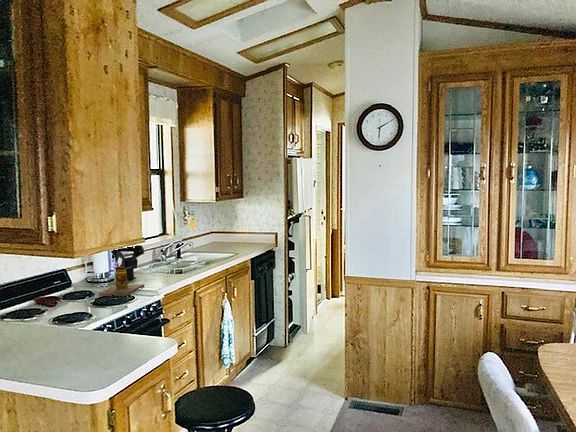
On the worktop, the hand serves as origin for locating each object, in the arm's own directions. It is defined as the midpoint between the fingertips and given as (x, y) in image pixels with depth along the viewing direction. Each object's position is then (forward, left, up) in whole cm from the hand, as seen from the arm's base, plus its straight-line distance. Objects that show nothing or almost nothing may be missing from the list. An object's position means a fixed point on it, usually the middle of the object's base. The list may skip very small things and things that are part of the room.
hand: (123, 262), depth 289 cm
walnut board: (+13, +5, -14) cm, 19 cm away
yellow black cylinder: (+12, +4, -12) cm, 18 cm away
